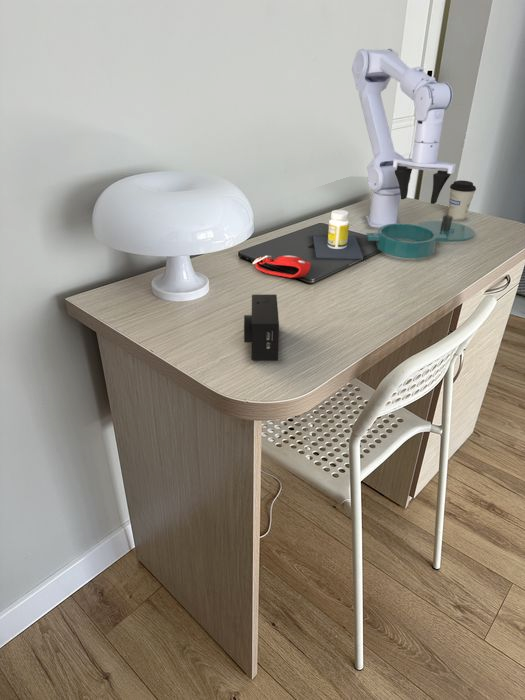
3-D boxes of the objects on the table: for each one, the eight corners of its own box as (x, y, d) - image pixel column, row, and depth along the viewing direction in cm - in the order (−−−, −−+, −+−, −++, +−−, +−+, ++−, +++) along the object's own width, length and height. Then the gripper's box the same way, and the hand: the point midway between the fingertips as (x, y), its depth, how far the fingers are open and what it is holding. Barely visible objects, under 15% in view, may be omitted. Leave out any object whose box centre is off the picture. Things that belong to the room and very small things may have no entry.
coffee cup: (462, 214, 148) (469, 179, 143) (473, 221, 142) (482, 185, 137) (439, 215, 147) (446, 179, 142) (450, 222, 141) (457, 186, 136)
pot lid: (410, 224, 140) (413, 207, 138) (463, 225, 140) (467, 208, 138) (423, 243, 128) (426, 225, 125) (481, 244, 128) (486, 226, 125)
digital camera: (245, 328, 91) (244, 293, 87) (275, 328, 91) (276, 293, 87) (244, 361, 82) (243, 323, 78) (277, 361, 82) (279, 323, 78)
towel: (312, 237, 131) (312, 235, 130) (355, 238, 130) (355, 236, 130) (316, 258, 119) (316, 256, 119) (363, 259, 119) (363, 257, 118)
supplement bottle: (347, 243, 126) (351, 210, 121) (345, 250, 122) (349, 216, 118) (328, 241, 127) (331, 208, 122) (325, 248, 123) (328, 214, 119)
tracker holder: (293, 254, 118) (321, 258, 110) (291, 273, 119) (319, 278, 111) (249, 252, 111) (276, 256, 103) (248, 273, 112) (274, 278, 104)
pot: (361, 239, 130) (363, 222, 128) (436, 240, 130) (439, 224, 127) (370, 259, 118) (372, 242, 116) (451, 261, 118) (455, 243, 116)
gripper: (464, 141, 117) (453, 201, 124) (404, 137, 124) (397, 193, 131) (453, 145, 112) (442, 207, 119) (392, 140, 120) (385, 199, 126)
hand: (418, 200), depth 125 cm, fingers open, 7 cm apart
